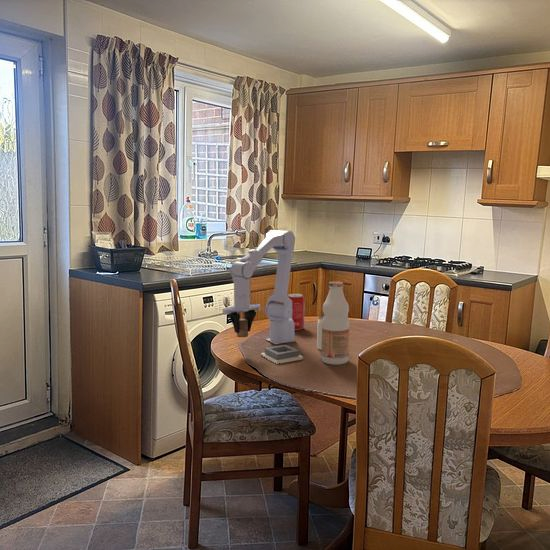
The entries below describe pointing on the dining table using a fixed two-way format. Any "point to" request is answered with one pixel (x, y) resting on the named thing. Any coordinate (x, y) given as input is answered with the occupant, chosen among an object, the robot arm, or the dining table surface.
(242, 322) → the peg
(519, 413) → the dining table surface
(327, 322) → the fruit juice
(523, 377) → the dining table surface
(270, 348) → the socket block
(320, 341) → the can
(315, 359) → the dining table surface
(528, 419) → the dining table surface
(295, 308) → the soda can
